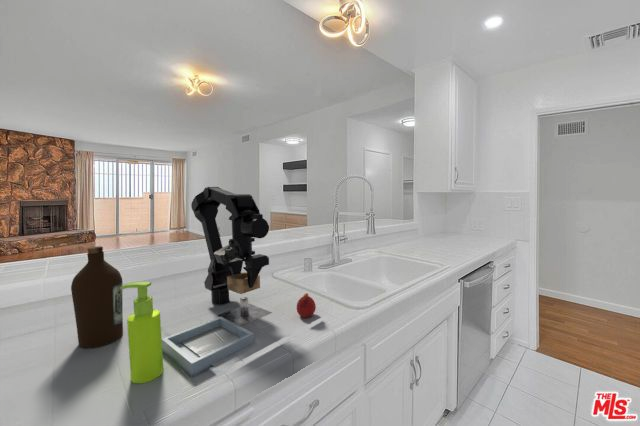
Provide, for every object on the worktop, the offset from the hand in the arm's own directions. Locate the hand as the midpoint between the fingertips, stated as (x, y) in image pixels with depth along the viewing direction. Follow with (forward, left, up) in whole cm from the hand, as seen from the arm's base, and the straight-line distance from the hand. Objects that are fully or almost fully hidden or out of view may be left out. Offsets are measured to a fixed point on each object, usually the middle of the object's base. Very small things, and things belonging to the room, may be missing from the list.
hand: (243, 285), depth 86 cm
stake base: (0, 0, -10) cm, 10 cm away
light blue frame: (+8, -16, -10) cm, 21 cm away
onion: (+16, +11, -10) cm, 22 cm away
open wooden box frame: (0, 0, -1) cm, 1 cm away
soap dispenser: (+7, -30, -10) cm, 32 cm away
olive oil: (-19, -32, -10) cm, 39 cm away
